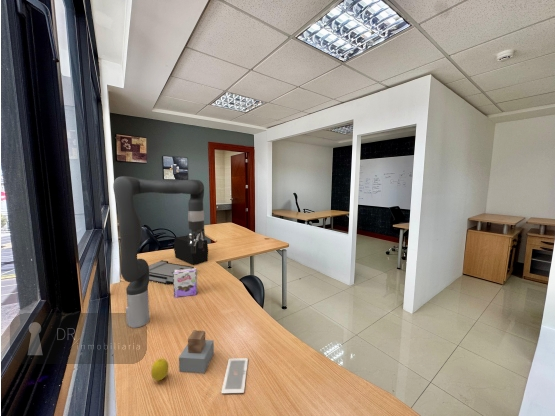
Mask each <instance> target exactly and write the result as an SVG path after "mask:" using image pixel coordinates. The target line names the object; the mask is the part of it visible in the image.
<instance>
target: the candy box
mask: <svg viewBox="0 0 555 416" xmlns="http://www.w3.org/2000/svg"><path fill="white" fill-rule="evenodd" d="M197 269H198V268H197V267H194V268H193V269H181V270H174V273H173V283H172V284H173V298H175V299H176V298H182V297H191V296H197V295H198V273H197V272H198V270H197Z"/></svg>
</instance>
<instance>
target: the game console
mask: <svg viewBox="0 0 555 416" xmlns="http://www.w3.org/2000/svg"><path fill="white" fill-rule="evenodd" d="M148 266H149V282H152V281H153V283H157V282H158V284H163V285H168V286H169V285H171V284H173V273H174V270H181V269H193V268H195V266H193V265H185V264H177V263H173V262H169V261H168V260H163V259H162V260H159V261H157V262H154V263H152V264H148Z"/></svg>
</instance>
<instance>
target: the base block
mask: <svg viewBox="0 0 555 416" xmlns="http://www.w3.org/2000/svg"><path fill="white" fill-rule="evenodd" d="M205 342H206V344H205V346H204V348H203V350H202V352H201V354H200V353H188V343H187V344H186V345H185V347H184V349H183V350H182V352H181V353H180V354H179V357H178V371H179V373H180V372H181V373H196V374H205V373H206V371H207V369H208V367H209V365H210V363H211V360H212V358H213V356H214V353H215V349H214V348H215V346H214V345H215V343H214V340H211V339H205Z"/></svg>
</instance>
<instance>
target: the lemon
mask: <svg viewBox="0 0 555 416" xmlns="http://www.w3.org/2000/svg"><path fill="white" fill-rule="evenodd" d="M168 373H169V363H168V361H167V359H165V358H158V359H157V360H156V361H154V362H153V364H152V367H151V378H152V379H153V380H155V381H161V380H163V379H164V378H166V377H167V375H168Z"/></svg>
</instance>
